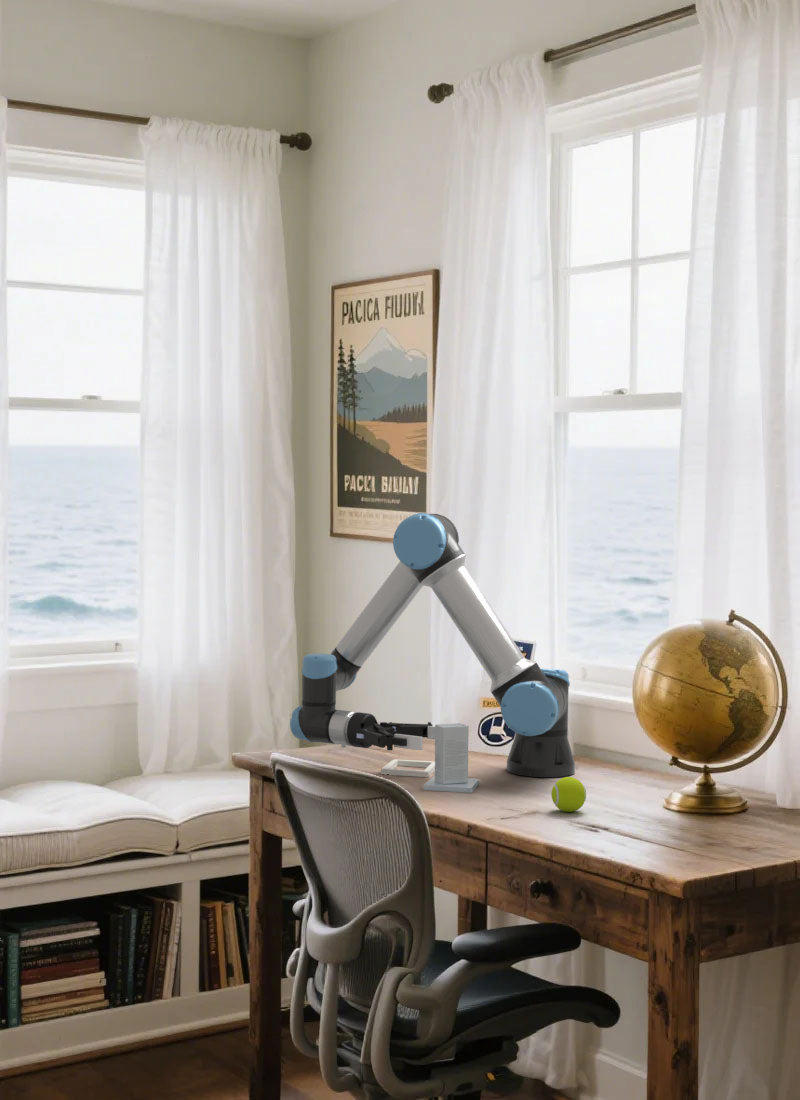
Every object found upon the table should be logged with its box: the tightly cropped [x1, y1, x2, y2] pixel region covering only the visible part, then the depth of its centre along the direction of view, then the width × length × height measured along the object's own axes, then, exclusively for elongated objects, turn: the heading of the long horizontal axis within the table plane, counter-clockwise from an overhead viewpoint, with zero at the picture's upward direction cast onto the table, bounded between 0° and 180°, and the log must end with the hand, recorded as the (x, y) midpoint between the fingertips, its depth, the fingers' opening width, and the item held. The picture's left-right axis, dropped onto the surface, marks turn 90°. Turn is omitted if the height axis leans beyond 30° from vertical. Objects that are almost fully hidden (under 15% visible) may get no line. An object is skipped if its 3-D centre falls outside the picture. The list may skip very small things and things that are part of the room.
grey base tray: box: [380, 758, 435, 778], centre depth 310 cm, size 10×12×1 cm
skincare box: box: [434, 722, 469, 784], centre depth 293 cm, size 6×4×12 cm
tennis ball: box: [551, 776, 587, 813], centre depth 271 cm, size 7×7×7 cm
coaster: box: [423, 775, 480, 794], centre depth 293 cm, size 10×10×1 cm
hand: (438, 739), depth 294 cm, fingers open, 13 cm apart
